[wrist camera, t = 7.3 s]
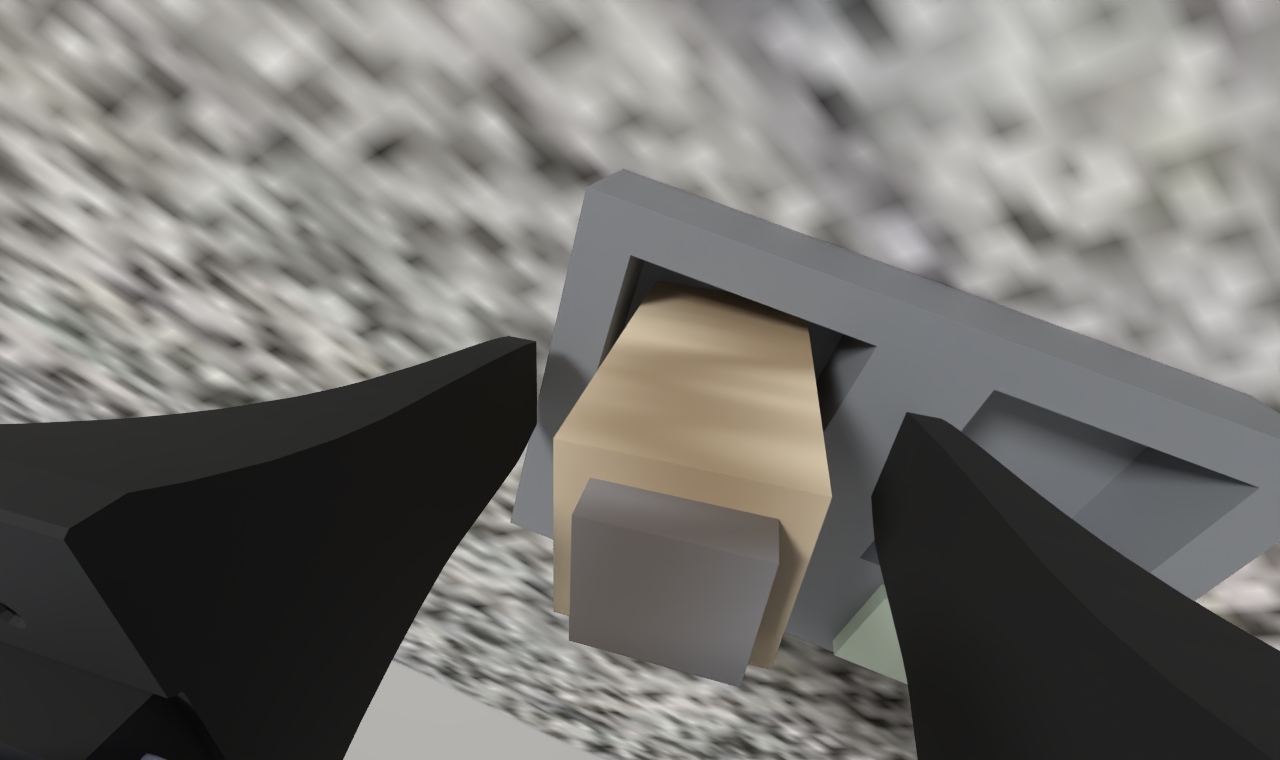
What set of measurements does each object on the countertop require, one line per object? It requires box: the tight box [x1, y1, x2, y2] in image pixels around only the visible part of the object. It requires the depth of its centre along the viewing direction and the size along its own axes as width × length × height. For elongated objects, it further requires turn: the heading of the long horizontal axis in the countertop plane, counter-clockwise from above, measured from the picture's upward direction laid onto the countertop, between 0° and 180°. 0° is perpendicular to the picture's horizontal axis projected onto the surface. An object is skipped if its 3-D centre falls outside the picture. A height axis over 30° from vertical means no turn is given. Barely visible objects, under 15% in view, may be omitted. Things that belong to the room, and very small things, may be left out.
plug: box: [553, 281, 832, 687], centre depth 10 cm, size 3×3×7 cm
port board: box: [511, 169, 1280, 685], centre depth 12 cm, size 14×9×3 cm, turn 73°
